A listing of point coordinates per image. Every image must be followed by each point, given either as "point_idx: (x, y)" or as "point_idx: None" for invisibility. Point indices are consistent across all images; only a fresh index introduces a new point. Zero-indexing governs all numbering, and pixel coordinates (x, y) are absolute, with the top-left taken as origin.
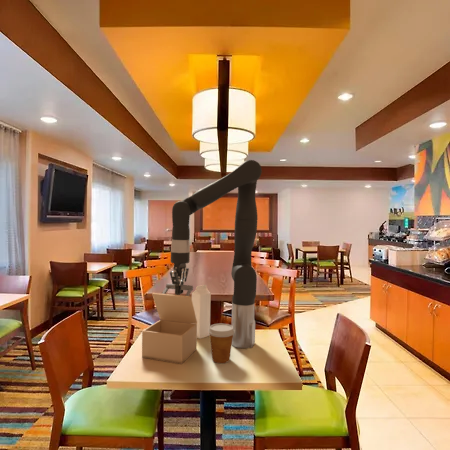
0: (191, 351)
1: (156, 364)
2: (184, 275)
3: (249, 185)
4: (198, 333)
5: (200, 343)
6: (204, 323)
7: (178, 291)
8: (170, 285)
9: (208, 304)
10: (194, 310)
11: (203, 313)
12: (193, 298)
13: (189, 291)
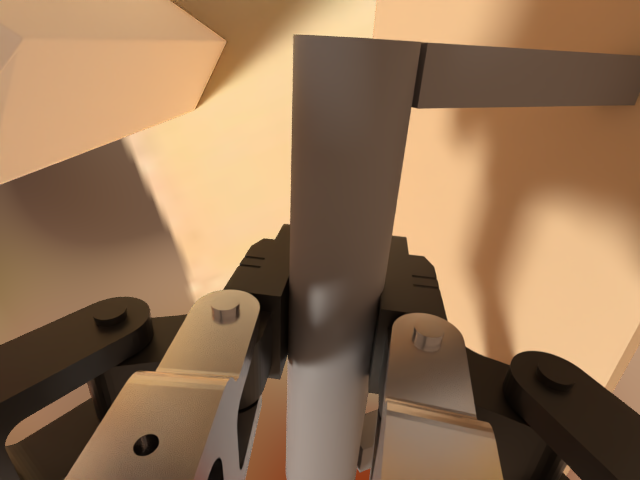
0: None
1: None
2: (194, 461)
3: None
4: (213, 50)
5: (292, 7)
6: (154, 11)
7: (430, 274)
8: (357, 447)
9: None
10: (122, 108)
11: (119, 14)
12: (45, 144)
13: (497, 56)
